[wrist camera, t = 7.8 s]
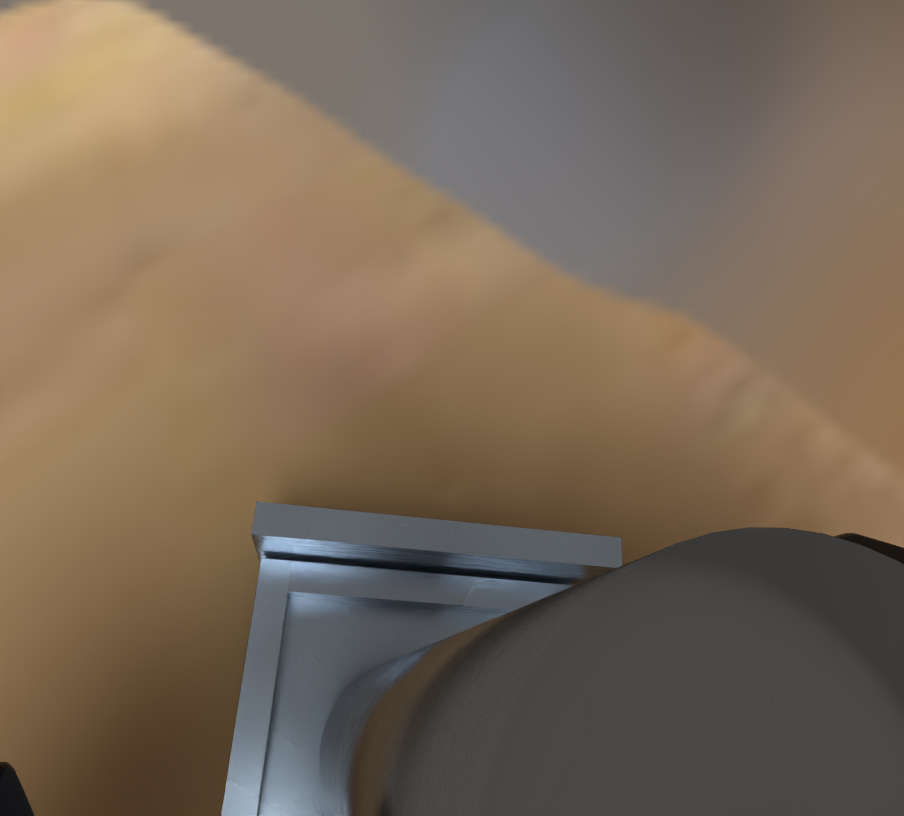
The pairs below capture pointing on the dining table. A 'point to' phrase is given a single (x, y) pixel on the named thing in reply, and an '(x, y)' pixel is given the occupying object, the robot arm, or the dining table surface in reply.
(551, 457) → the dining table surface
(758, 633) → the dark gray cup
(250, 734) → the blue gray open box
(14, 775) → the robot arm
